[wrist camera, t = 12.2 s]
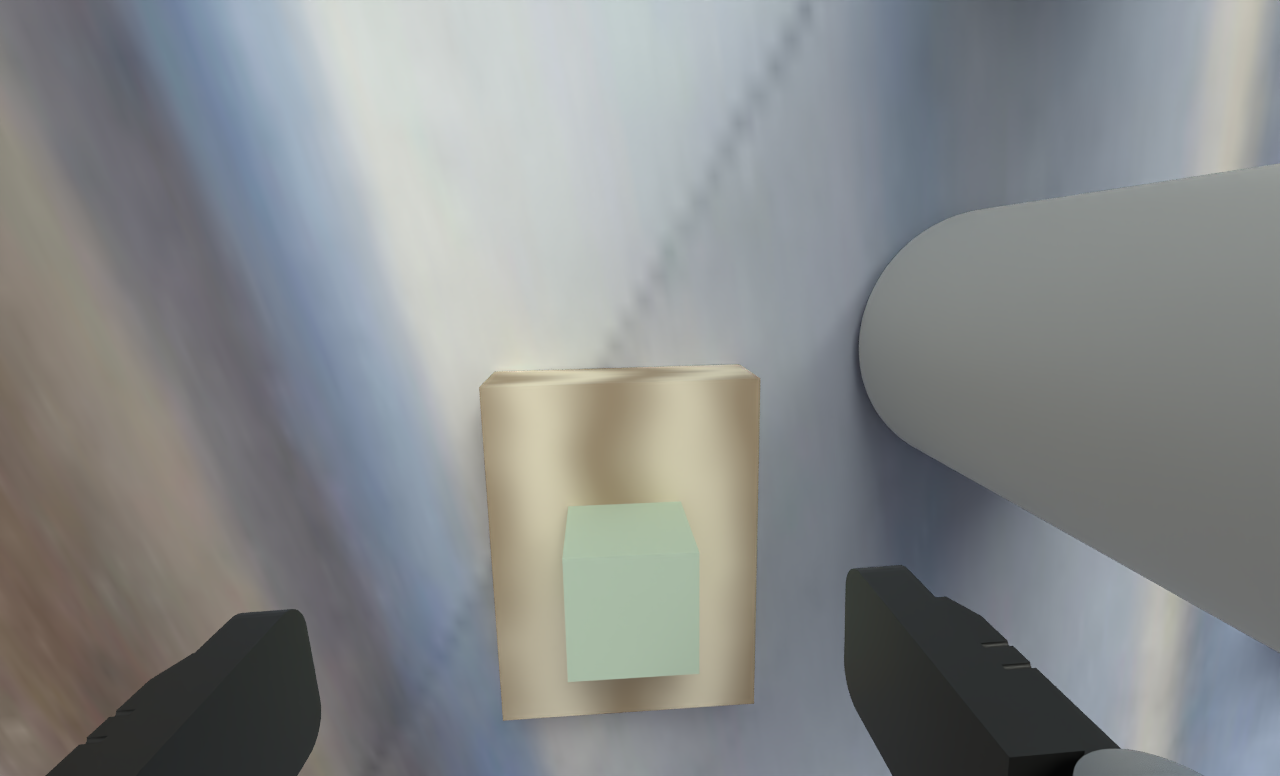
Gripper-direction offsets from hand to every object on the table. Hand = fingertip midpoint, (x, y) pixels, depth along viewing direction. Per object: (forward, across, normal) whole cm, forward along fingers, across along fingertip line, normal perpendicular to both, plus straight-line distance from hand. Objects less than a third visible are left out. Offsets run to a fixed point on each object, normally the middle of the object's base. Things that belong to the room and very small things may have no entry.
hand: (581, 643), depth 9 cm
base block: (+21, -1, +8) cm, 23 cm away
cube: (+17, -1, +8) cm, 19 cm away
